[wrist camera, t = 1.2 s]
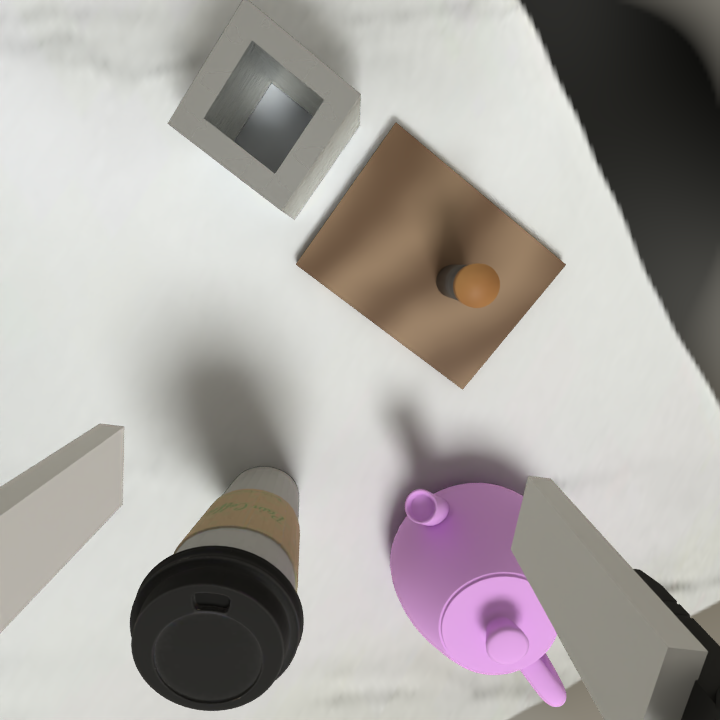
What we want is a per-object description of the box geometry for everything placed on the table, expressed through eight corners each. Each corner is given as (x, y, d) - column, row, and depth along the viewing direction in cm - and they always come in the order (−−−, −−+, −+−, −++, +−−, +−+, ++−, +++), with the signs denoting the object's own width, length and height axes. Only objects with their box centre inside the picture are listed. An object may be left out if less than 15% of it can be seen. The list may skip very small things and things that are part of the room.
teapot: (470, 405, 36) (517, 464, 26) (585, 580, 40) (667, 693, 29) (331, 493, 38) (323, 582, 27) (455, 654, 41) (489, 786, 31)
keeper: (297, 264, 33) (280, 264, 26) (394, 125, 31) (407, 81, 24) (460, 386, 36) (489, 420, 28) (561, 264, 34) (621, 265, 26)
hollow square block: (202, 149, 31) (167, 123, 26) (265, 48, 30) (244, -4, 24) (294, 220, 33) (281, 210, 27) (359, 125, 31) (360, 94, 25)
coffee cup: (295, 431, 36) (256, 546, 22) (336, 527, 38) (326, 693, 23) (190, 468, 37) (81, 605, 22) (236, 561, 39) (164, 743, 24)
